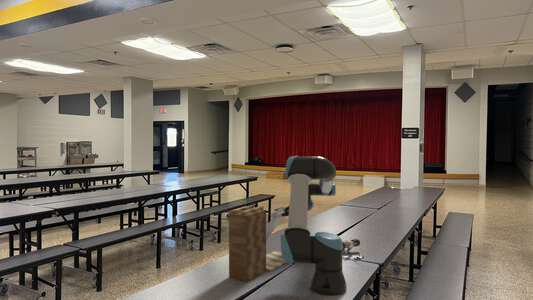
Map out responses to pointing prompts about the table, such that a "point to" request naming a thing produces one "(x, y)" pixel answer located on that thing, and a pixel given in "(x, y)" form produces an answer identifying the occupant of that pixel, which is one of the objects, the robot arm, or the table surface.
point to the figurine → (350, 245)
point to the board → (274, 260)
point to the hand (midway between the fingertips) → (274, 215)
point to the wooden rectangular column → (247, 243)
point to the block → (273, 223)
